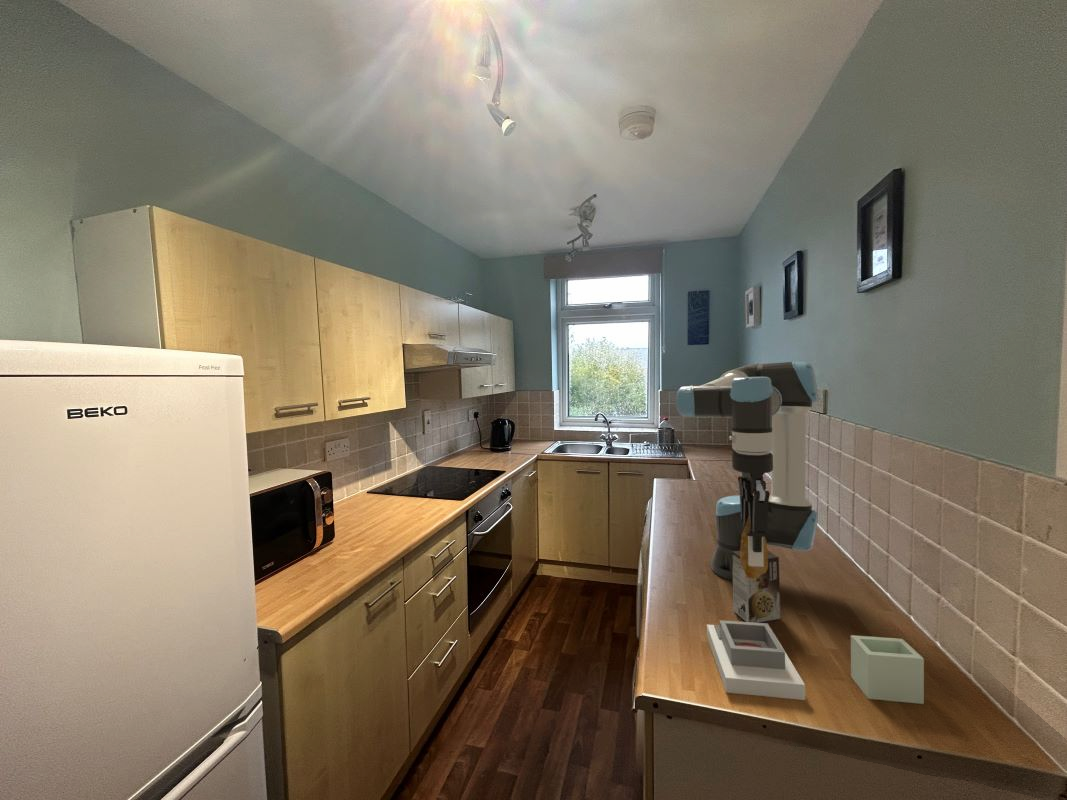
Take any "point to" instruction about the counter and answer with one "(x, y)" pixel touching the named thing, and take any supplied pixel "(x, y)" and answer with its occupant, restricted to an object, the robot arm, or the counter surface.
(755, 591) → the coffee box
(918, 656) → the box
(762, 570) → the stone tool
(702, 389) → the robot arm
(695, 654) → the counter surface
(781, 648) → the panel
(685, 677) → the counter surface
